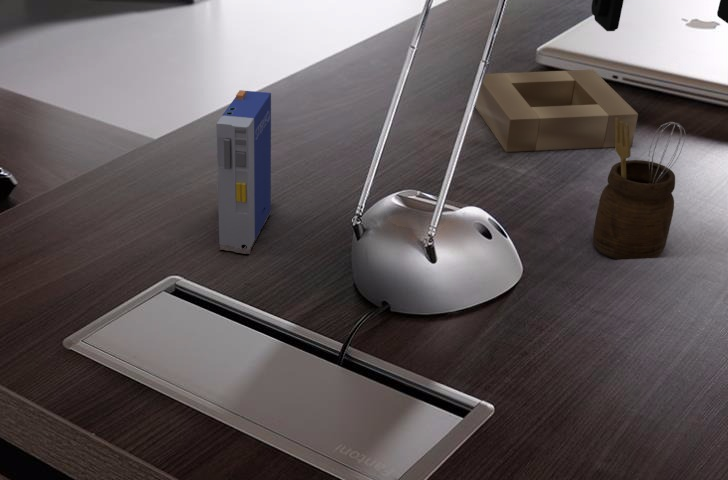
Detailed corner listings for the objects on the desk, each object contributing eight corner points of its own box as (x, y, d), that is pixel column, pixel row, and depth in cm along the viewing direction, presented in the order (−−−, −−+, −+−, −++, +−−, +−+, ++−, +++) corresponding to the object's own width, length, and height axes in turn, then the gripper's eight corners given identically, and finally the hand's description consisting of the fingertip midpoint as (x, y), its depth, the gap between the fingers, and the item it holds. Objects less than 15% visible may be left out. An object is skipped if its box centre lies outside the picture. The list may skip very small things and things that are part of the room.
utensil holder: (679, 256, 91) (712, 121, 84) (618, 271, 89) (646, 134, 83) (633, 226, 96) (660, 96, 89) (573, 239, 94) (597, 107, 87)
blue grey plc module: (241, 211, 99) (239, 86, 93) (270, 215, 99) (271, 88, 92) (217, 252, 93) (214, 120, 86) (248, 256, 92) (247, 123, 86)
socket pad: (587, 99, 121) (592, 69, 119) (632, 146, 110) (638, 113, 108) (472, 104, 120) (476, 74, 118) (505, 152, 109) (510, 119, 107)
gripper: (618, -220, 69) (571, 43, 78) (880, -223, 70) (803, 38, 79) (579, -234, 75) (540, 11, 85) (820, -237, 76) (755, 7, 86)
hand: (667, 24), depth 82 cm, fingers open, 9 cm apart
